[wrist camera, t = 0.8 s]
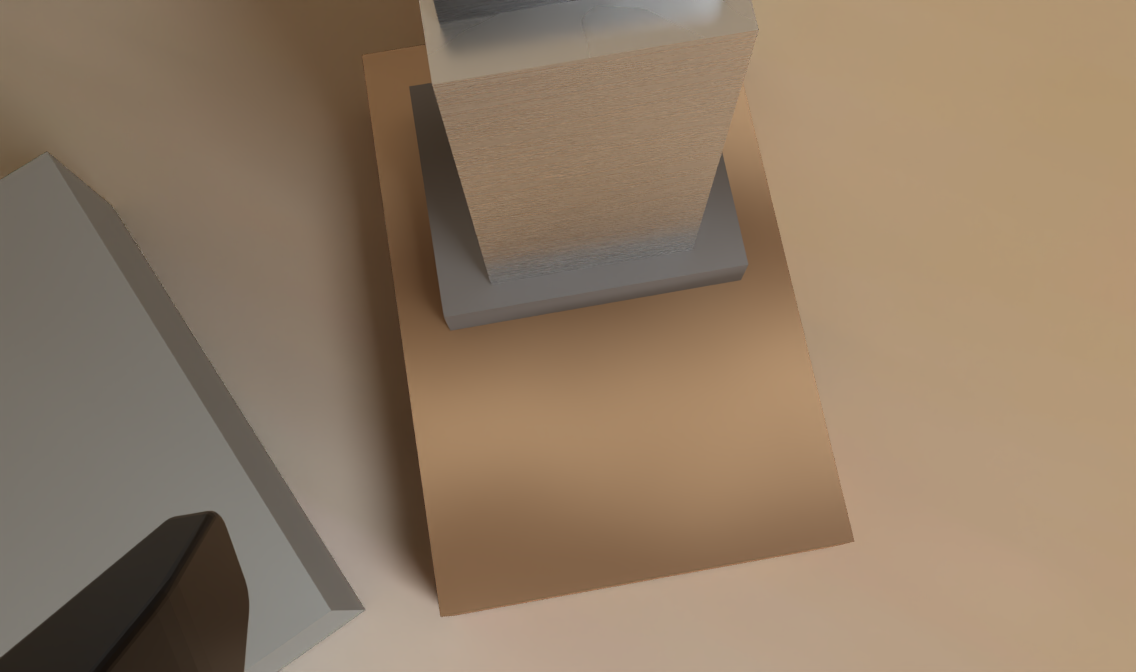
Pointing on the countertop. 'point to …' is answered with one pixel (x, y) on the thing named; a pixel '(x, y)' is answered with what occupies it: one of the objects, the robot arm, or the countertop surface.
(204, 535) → the robot arm
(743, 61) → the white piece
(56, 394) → the block
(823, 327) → the countertop surface
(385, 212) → the tan wooden board
